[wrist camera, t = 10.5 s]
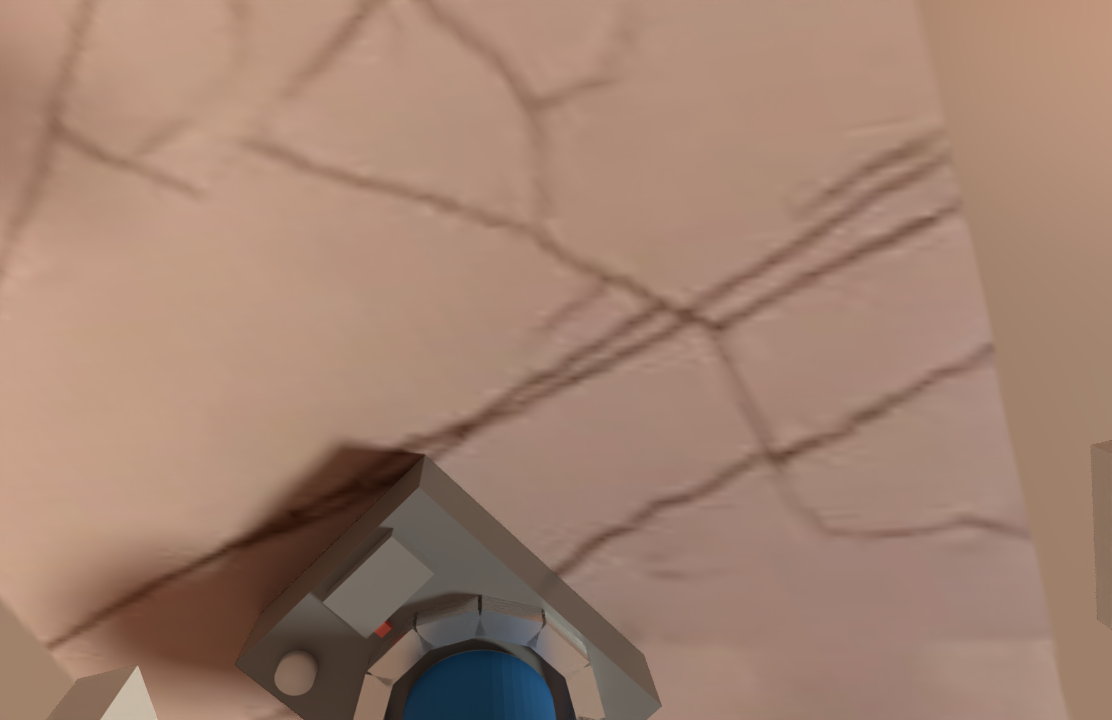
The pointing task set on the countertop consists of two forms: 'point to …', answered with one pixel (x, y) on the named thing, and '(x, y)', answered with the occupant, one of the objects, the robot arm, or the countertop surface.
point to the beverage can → (480, 690)
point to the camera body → (424, 606)
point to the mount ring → (469, 623)
